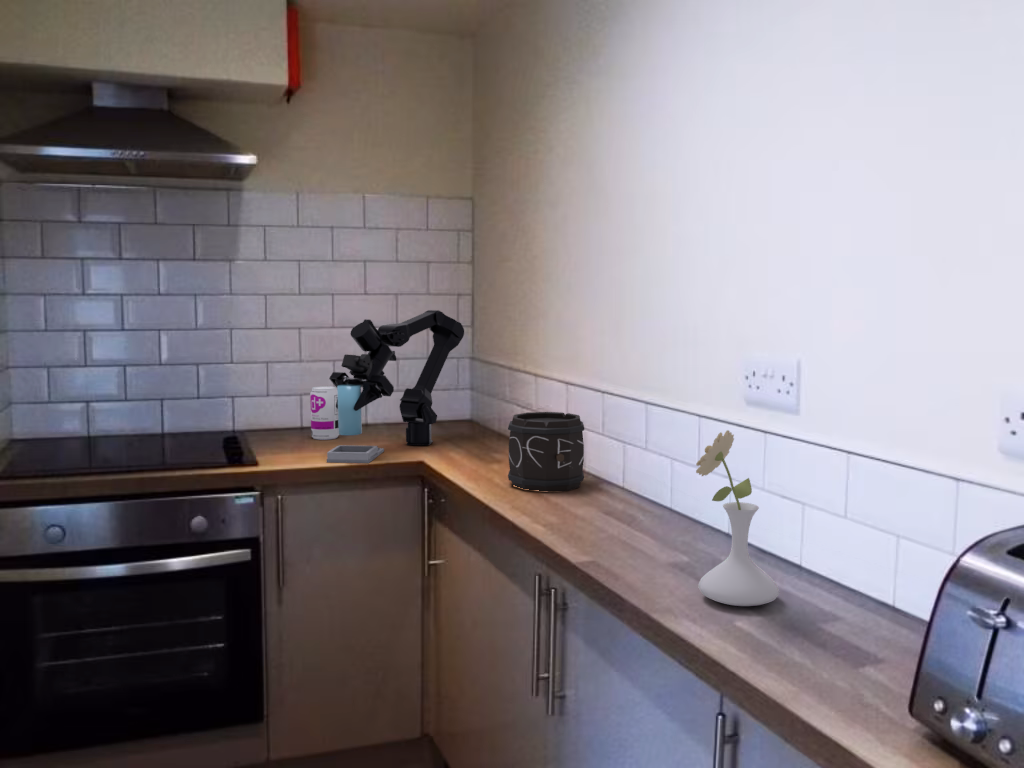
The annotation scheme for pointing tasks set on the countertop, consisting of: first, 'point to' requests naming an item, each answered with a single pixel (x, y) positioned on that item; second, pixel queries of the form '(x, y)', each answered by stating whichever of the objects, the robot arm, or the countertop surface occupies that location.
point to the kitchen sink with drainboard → (353, 454)
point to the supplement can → (324, 413)
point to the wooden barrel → (546, 451)
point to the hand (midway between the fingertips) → (345, 408)
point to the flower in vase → (734, 541)
